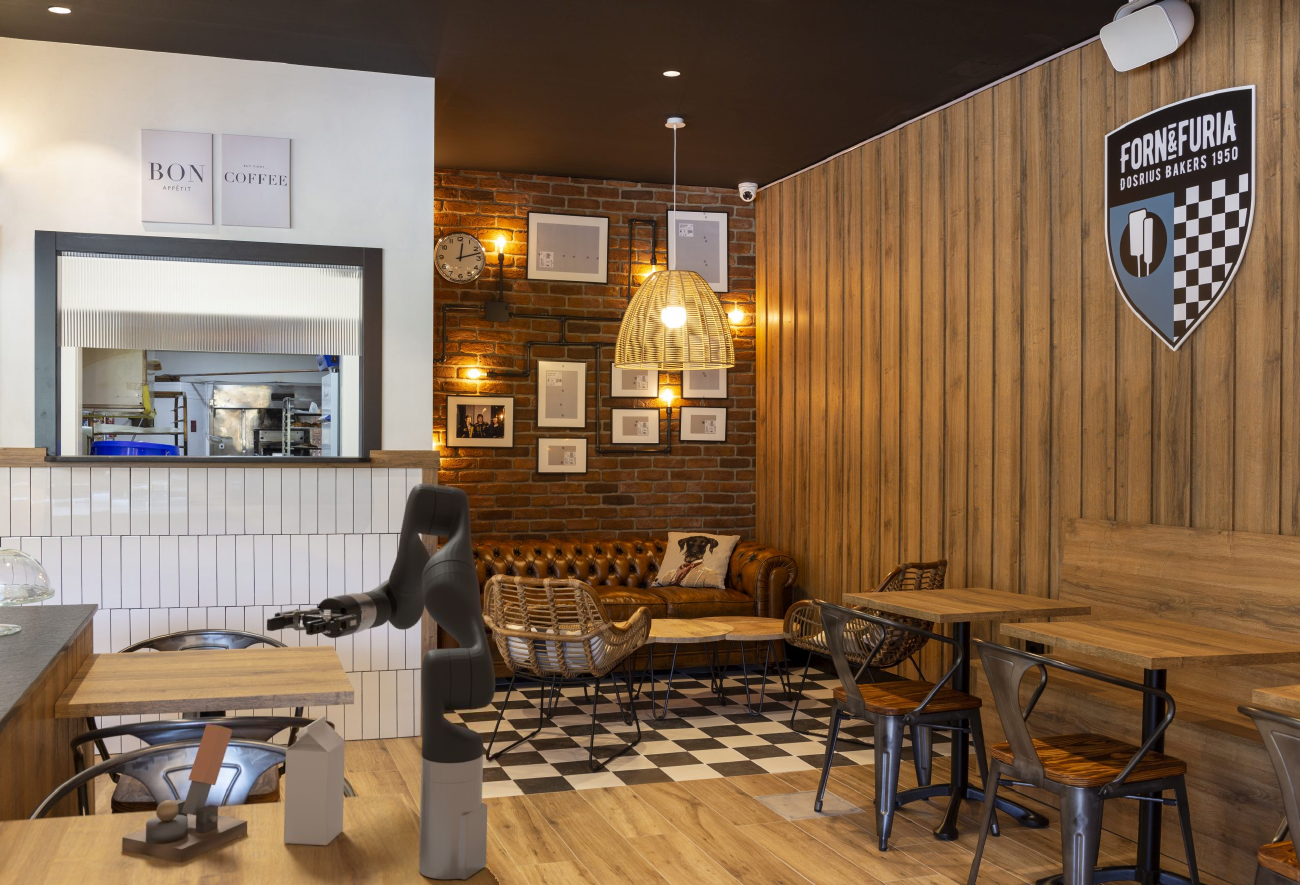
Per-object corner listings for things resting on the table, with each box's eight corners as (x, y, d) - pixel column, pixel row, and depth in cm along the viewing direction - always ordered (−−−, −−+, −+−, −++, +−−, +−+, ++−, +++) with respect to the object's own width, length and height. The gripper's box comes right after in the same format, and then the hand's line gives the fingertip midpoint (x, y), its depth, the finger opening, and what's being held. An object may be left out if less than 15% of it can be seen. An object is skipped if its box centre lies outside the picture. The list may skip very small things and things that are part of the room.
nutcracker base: (247, 833, 178) (248, 786, 179) (181, 862, 166) (182, 811, 166) (190, 822, 183) (191, 776, 183) (122, 850, 170) (123, 800, 170)
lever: (205, 817, 176) (232, 729, 181) (192, 814, 173) (220, 726, 179) (190, 814, 177) (218, 727, 182) (177, 812, 174) (206, 724, 180)
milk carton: (343, 831, 180) (345, 716, 180) (326, 846, 173) (329, 727, 173) (301, 829, 181) (304, 714, 181) (283, 844, 174) (286, 725, 174)
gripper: (316, 592, 207) (255, 602, 192) (378, 597, 202) (321, 608, 187) (315, 631, 207) (254, 645, 192) (377, 637, 202) (320, 652, 187)
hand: (287, 627), depth 190 cm, fingers open, 8 cm apart
